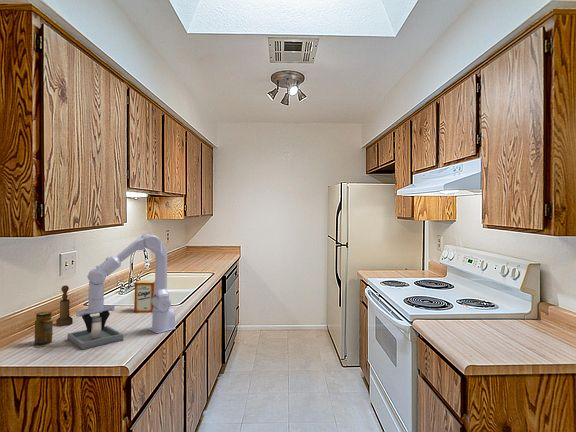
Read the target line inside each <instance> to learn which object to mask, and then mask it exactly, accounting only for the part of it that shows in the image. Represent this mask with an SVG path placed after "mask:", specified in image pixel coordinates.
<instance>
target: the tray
mask: <svg viewBox="0 0 576 432" xmlns="http://www.w3.org/2000/svg"><path fill="white" fill-rule="evenodd" d="M67 341H68V342H70V343H71V344H73V345H74V346H76V347H77V348H79V350H81V351H83V350H87V349H92V348H97V347H101V346H104V345H109V344H113V343H118V342H121V341H124V334H123V333H122V332H119V330H116V329H114V328H113V327H110V326H109V325H105V326H104V330H102V331H101V337H98V338H90V333H88V332H87V329H84V330H78V331H74V332H69V333H67Z"/></svg>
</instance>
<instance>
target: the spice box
mask: <svg viewBox="0 0 576 432" xmlns="http://www.w3.org/2000/svg"><path fill="white" fill-rule="evenodd" d="M154 290H155V280H148V279H144V280H143V279H141V280H137V281H135V282H134V303H133V304H134V308H133V310H134V311H133V312H134V314H135V313H136V314H137V313H139V314H140V313H142V314H143V313H147V314H148V313H153V308H154V306H153V305H152V302H151V300H152V298H153V295H154Z"/></svg>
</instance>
